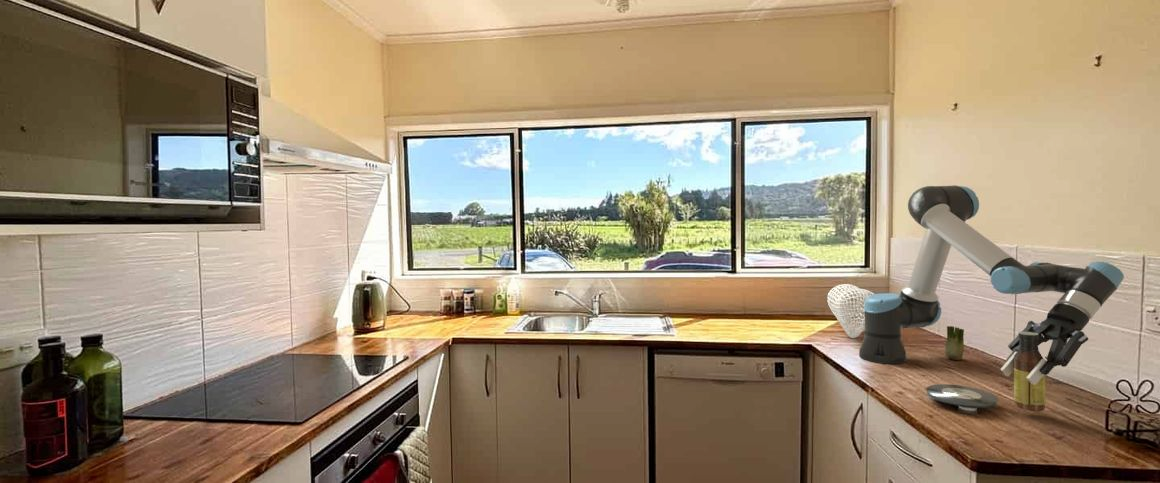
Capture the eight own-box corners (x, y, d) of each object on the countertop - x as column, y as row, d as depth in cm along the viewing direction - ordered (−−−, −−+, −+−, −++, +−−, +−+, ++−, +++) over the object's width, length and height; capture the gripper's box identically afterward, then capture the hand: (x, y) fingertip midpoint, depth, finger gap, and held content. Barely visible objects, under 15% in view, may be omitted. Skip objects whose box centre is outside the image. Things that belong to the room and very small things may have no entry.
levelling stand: (912, 396, 151) (912, 386, 151) (961, 392, 153) (961, 382, 153) (960, 417, 135) (961, 405, 135) (1013, 412, 138) (1014, 401, 137)
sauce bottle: (1045, 407, 136) (1048, 332, 134) (1044, 414, 131) (1047, 337, 130) (1013, 401, 140) (1015, 329, 139) (1011, 408, 136) (1013, 333, 134)
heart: (822, 330, 236) (822, 282, 235) (858, 330, 234) (858, 282, 233) (845, 346, 209) (845, 291, 208) (886, 346, 207) (887, 291, 206)
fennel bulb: (966, 361, 184) (966, 328, 183) (950, 361, 184) (951, 328, 184) (956, 357, 189) (957, 324, 189) (942, 357, 190) (942, 324, 190)
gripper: (1123, 329, 127) (1065, 399, 126) (1043, 314, 146) (991, 375, 145) (1106, 309, 126) (1047, 379, 125) (1027, 296, 145) (975, 357, 144)
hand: (1017, 377), depth 135 cm, fingers closed on sauce bottle, 6 cm apart
